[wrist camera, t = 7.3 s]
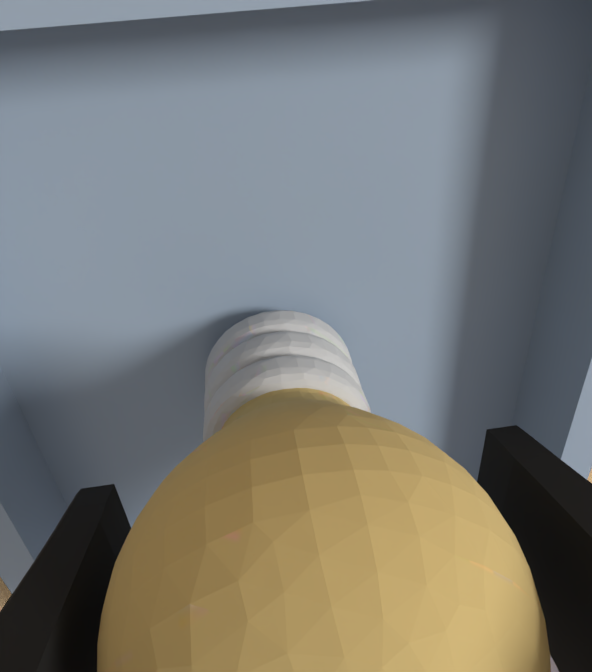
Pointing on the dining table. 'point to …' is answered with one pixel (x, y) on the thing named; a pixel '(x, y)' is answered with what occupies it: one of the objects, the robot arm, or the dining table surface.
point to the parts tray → (285, 224)
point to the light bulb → (315, 534)
